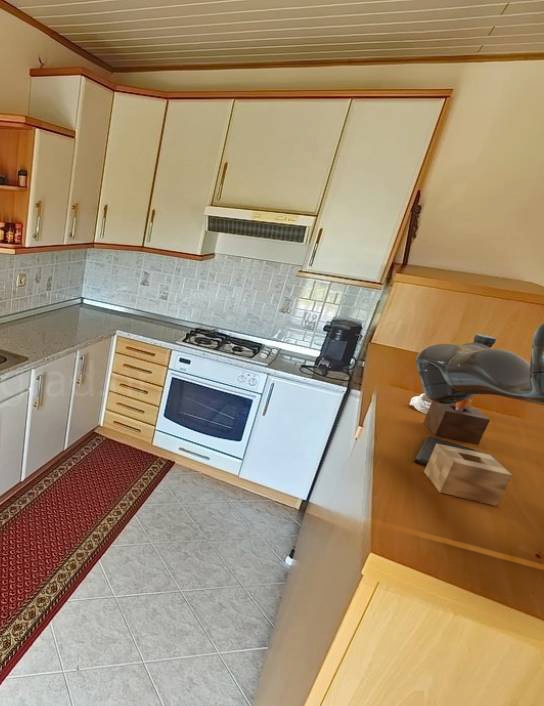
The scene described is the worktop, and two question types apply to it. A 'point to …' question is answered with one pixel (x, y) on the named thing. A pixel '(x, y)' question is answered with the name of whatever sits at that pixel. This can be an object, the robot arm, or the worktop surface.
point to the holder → (456, 422)
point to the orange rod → (462, 404)
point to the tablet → (429, 447)
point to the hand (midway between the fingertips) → (486, 355)
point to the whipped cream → (421, 403)
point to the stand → (467, 474)
